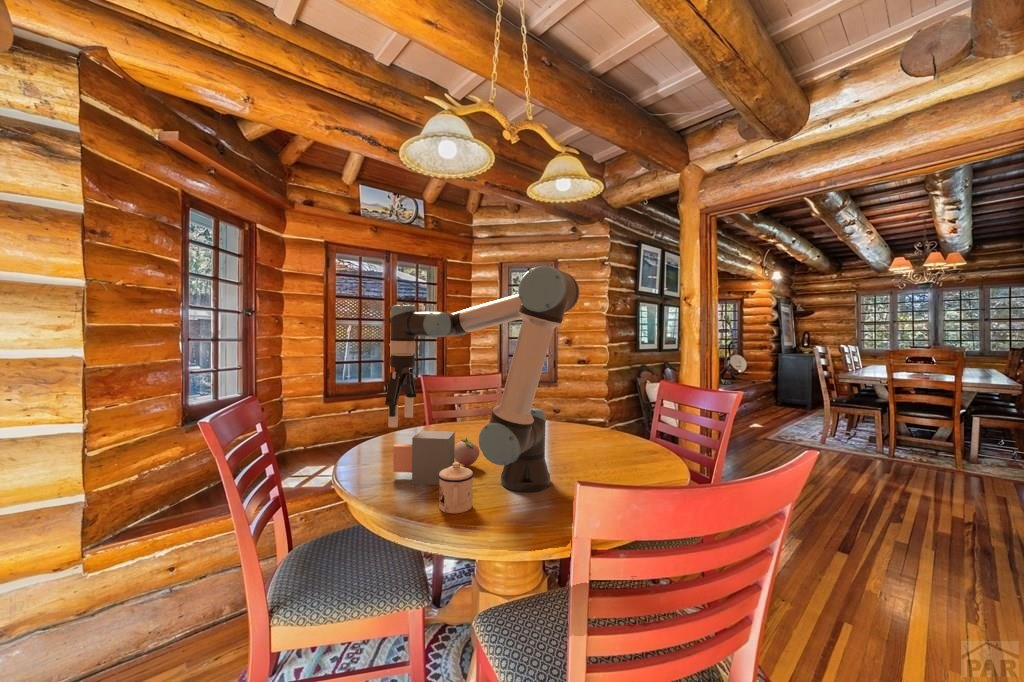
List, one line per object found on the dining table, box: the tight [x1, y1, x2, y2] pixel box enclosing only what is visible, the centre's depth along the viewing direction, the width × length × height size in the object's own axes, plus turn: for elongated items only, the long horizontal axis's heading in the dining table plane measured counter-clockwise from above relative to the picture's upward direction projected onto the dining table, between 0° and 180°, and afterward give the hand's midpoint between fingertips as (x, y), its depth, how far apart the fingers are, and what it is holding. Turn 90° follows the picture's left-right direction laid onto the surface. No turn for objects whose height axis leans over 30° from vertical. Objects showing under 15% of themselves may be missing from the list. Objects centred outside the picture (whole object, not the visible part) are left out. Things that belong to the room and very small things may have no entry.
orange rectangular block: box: [392, 443, 412, 474], centre depth 129 cm, size 16×2×8 cm, turn 86°
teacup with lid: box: [438, 461, 474, 514], centre depth 108 cm, size 12×9×12 cm
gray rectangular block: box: [411, 430, 456, 486], centre depth 129 cm, size 11×9×14 cm
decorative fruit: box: [454, 437, 480, 468], centre depth 141 cm, size 9×8×10 cm
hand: (401, 421), depth 131 cm, fingers open, 13 cm apart
